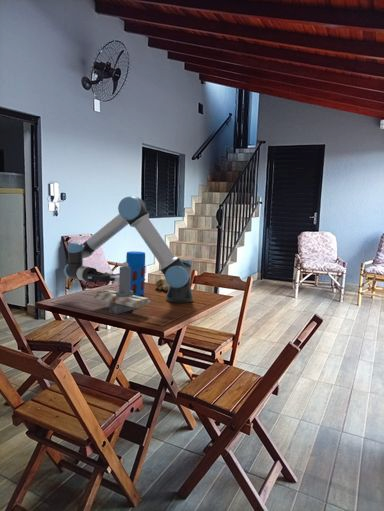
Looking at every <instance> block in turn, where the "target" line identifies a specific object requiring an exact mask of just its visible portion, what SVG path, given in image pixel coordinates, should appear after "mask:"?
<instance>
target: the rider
mask: <svg viewBox="0 0 384 511" xmlns="http://www.w3.org/2000/svg"><path fill="white" fill-rule="evenodd" d="M118 277H119V283H118V285H119V286H118V291H116V296H120V297H124V296H126V297H129V295H132V294H133V291H131V290H130V287H131V267H128V263H127V262H126V261H124V262H122V265H121V266H120V267H119V276H118Z"/></svg>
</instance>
